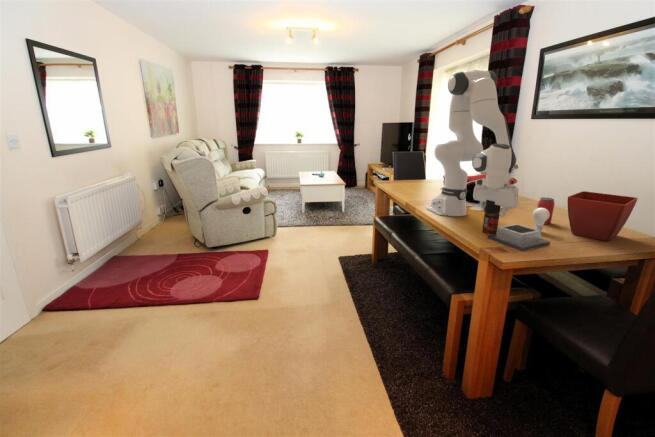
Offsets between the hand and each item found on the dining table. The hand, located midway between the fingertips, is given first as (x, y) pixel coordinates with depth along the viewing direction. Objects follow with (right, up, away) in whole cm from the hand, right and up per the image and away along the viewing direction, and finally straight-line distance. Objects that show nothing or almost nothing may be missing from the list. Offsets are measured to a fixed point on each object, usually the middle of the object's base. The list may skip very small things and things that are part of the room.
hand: (492, 213), depth 140 cm
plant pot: (+43, -9, -1) cm, 44 cm away
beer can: (+33, -4, +16) cm, 37 cm away
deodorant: (0, -9, +3) cm, 9 cm away
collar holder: (+6, -12, -8) cm, 15 cm away
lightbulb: (+22, -8, +4) cm, 24 cm away
